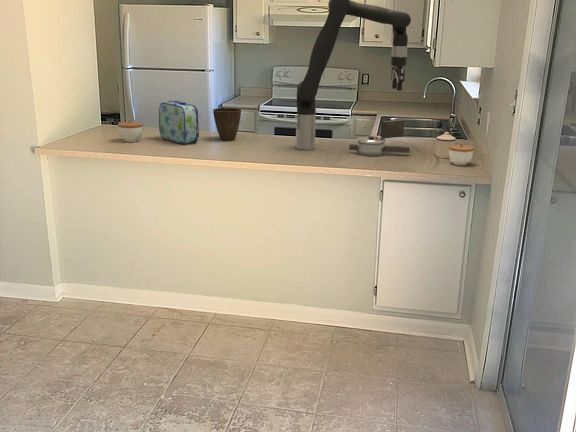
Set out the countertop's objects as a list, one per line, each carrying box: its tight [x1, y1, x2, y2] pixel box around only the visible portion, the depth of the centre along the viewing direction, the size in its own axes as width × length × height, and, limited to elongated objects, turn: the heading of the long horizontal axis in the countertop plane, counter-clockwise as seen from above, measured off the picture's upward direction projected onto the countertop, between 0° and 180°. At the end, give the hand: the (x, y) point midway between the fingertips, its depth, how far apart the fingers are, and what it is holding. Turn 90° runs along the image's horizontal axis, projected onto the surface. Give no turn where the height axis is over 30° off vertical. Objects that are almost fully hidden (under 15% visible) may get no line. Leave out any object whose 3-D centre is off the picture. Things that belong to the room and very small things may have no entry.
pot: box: [348, 141, 411, 157], centre depth 286 cm, size 28×13×6 cm, turn 96°
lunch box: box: [158, 100, 200, 145], centre depth 307 cm, size 26×11×21 cm, turn 42°
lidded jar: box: [448, 142, 474, 166], centre depth 267 cm, size 11×11×9 cm
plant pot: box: [212, 107, 242, 142], centre depth 314 cm, size 15×15×16 cm
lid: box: [356, 119, 405, 144], centre depth 287 cm, size 26×14×9 cm, turn 121°
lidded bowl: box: [117, 119, 144, 143], centre depth 307 cm, size 13×13×11 cm
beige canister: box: [434, 131, 457, 159], centre depth 283 cm, size 12×9×12 cm
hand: (396, 89), depth 293 cm, fingers open, 8 cm apart
